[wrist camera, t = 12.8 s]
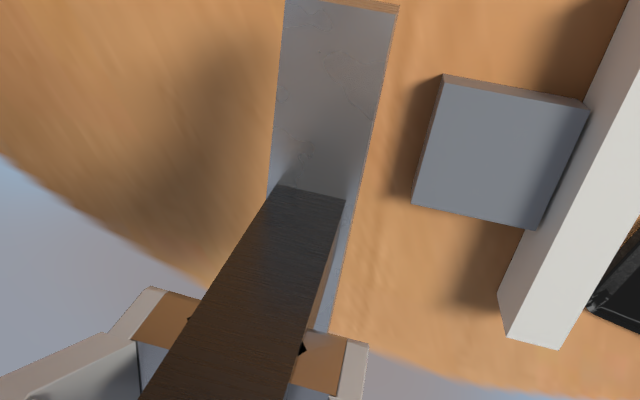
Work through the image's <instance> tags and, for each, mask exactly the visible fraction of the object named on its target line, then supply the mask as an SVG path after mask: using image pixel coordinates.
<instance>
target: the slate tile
mask: <svg viewBox="0 0 640 400" xmlns="http://www.w3.org/2000/svg"><path fill="white" fill-rule="evenodd" d="M590 112H591V110H590V109H588V108H587V107H586V106H585V105H584V104H583V103H582V102H580V101H579V100H578V99H575V98H569V97H564V96H559V95H554V94H548V93H543V92H538V91H533V90H527V89H522V88H517V87H511V86H506V85H501V84H496V83H490V82H485V81H480V80H475V79H469V78H464V77H459V76H453V75H448V74H443V75H442V79H441V83H440V86H439V90H438V93H437V97H436V101H435V104H434V108H433V111H432V115H431V119H430V122H429V126H428V130H427V133H426V137H425V140H424V144H423V148H422V151H421V155H420V159H419V162H418V166H417V169H416V173H415V177H414V180H413V184H412V187H411V204H415V205H419V206H424V207H428V208H433V209H437V210H442V211H446V212H451V213H455V214H460V215H464V216H469V217H473V218H478V219H482V220H487V221H491V222H496V223H500V224H505V225H509V226H514V227H518V228H523V229H527V230H532V231H536V229H537V227H538V225H539V223H540V220H541V218H542V216H543V214H544V212H545V210H546V207H547V205H548V203H549V201H550V199H551V197H552V194H553V192H554V190H555V188H556V186H557V183H558V181H559V179H560V177H561V175H562V173H563V170H564V168H565V166H566V164H567V162H568V159H569V157H570V155H571V153H572V151H573V149H574V146H575V144H576V142H577V140H578V138H579V136H580V133H581V131H582V129H583V127H584V125H585V122H586V120H587V118H588V116H589V114H590Z"/></svg>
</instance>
